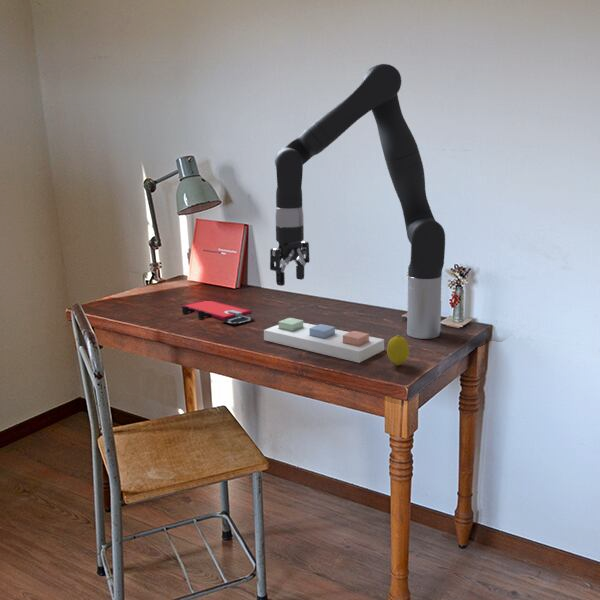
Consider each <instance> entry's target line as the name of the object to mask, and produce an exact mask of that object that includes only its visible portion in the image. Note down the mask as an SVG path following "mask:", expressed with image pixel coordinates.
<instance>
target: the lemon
mask: <svg viewBox="0 0 600 600" xmlns="http://www.w3.org/2000/svg"><path fill="white" fill-rule="evenodd" d="M386 353H387V354H386V355H387V357H388V359H389V361H390V362H391V363H393V364H395V365H396V366H397V367H398V366H400V365H401V364H403V363H404V362H406V361H407V360H408V358H409V356H410V345H409V342H408V340H407V339H406V338H405V337H403V336H401V335H399V334H397V335H395V336H392V337H391V338H390V340H389V341H388V343H387V346H386Z"/></svg>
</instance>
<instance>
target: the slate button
mask: <svg viewBox="0 0 600 600" xmlns="http://www.w3.org/2000/svg"><path fill="white" fill-rule="evenodd" d="M316 325H317V326H314V327H312V328H309V331H310V336H313V337H317V338H322V339H326V338H328V337H331V336H333V335H335V329H336V327H335V326H332V325H328V324H327V325H326V324H321V323H319V324H316Z"/></svg>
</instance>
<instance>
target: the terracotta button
mask: <svg viewBox="0 0 600 600" xmlns="http://www.w3.org/2000/svg"><path fill="white" fill-rule="evenodd" d="M348 332H349V333H347V334H345V335H343V343H344V344H349V345H353V346H358V347H359V346H361V345H363V344H366V343H368V342H369V336H370V334H369V333H368V332H367V333H366V332H362V331H355V330H351V331H348Z"/></svg>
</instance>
